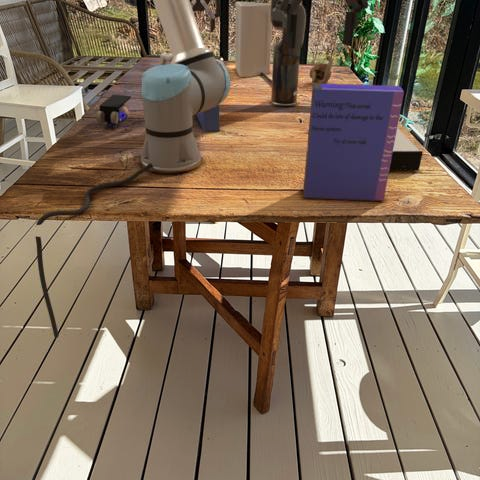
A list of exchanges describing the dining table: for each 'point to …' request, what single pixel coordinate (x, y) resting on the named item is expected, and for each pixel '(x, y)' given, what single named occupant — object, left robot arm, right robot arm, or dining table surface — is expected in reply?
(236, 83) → the dining table surface
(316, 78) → the anatomical model
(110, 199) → the dining table surface
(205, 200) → the dining table surface
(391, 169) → the disc drive
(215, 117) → the bar
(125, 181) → the left robot arm
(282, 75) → the right robot arm
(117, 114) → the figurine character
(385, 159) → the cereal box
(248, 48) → the tall white block
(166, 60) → the toy
